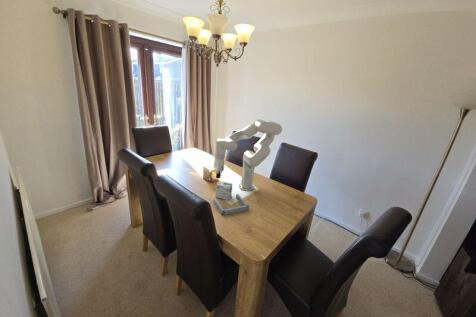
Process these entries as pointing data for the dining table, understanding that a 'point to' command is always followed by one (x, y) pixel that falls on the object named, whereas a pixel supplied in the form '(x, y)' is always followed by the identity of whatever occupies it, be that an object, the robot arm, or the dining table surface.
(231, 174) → the dining table surface
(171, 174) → the dining table surface
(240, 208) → the dock
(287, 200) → the dining table surface
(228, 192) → the light bulb box
